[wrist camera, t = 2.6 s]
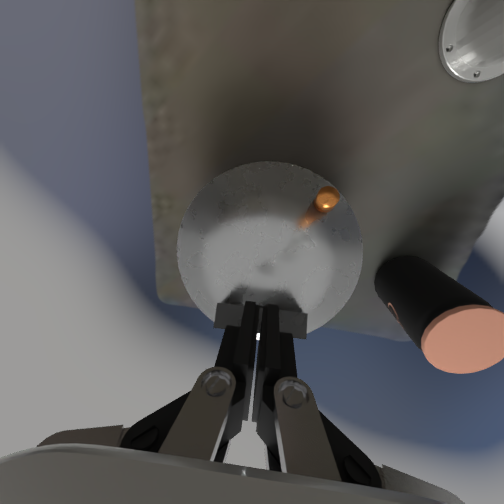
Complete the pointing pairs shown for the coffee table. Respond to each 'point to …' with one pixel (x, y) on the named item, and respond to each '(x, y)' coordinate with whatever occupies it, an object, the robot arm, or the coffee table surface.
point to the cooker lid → (270, 246)
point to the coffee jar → (441, 315)
